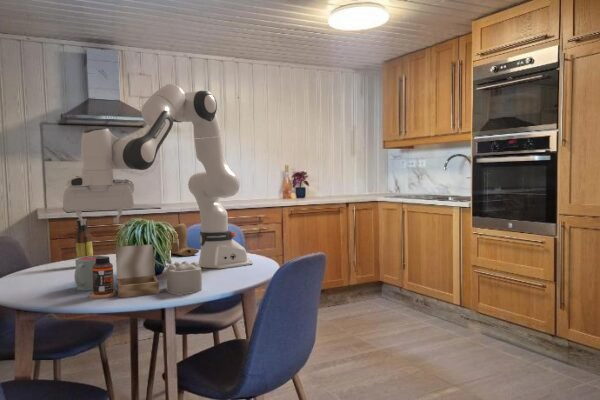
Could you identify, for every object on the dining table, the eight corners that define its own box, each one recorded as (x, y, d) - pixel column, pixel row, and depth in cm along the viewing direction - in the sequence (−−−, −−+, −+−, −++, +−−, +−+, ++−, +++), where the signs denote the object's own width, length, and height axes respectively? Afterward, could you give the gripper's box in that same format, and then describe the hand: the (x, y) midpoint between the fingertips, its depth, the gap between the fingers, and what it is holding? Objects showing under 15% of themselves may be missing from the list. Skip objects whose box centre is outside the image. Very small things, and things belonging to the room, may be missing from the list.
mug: (86, 283, 162) (85, 255, 161) (111, 284, 161) (110, 255, 160) (62, 293, 148) (61, 263, 148) (89, 294, 147) (88, 263, 147)
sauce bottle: (92, 264, 199) (90, 218, 198) (94, 266, 193) (93, 219, 192) (75, 266, 195) (73, 219, 194) (77, 268, 190) (75, 220, 189)
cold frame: (153, 282, 162) (152, 244, 161) (159, 293, 147) (157, 250, 147) (116, 286, 157) (115, 246, 157) (118, 297, 143) (117, 253, 142)
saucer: (115, 291, 150) (115, 288, 150) (116, 296, 144) (116, 294, 143) (89, 294, 147) (89, 291, 147) (89, 299, 140) (89, 297, 140)
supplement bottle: (106, 295, 142) (105, 259, 141) (89, 294, 143) (87, 258, 143) (117, 290, 148) (116, 255, 147) (101, 290, 149) (99, 255, 148)
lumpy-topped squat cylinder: (172, 295, 144) (171, 268, 144) (163, 287, 156) (162, 261, 155) (205, 291, 149) (204, 264, 149) (193, 283, 161) (192, 258, 160)
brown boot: (161, 254, 221) (160, 223, 220) (184, 251, 229) (183, 221, 228) (176, 258, 210) (175, 225, 209) (200, 255, 218) (199, 223, 217)
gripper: (133, 179, 151) (134, 221, 151) (62, 180, 142) (64, 225, 143) (134, 179, 145) (136, 223, 146) (61, 180, 137) (63, 227, 137)
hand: (100, 224), depth 144 cm, fingers open, 8 cm apart
